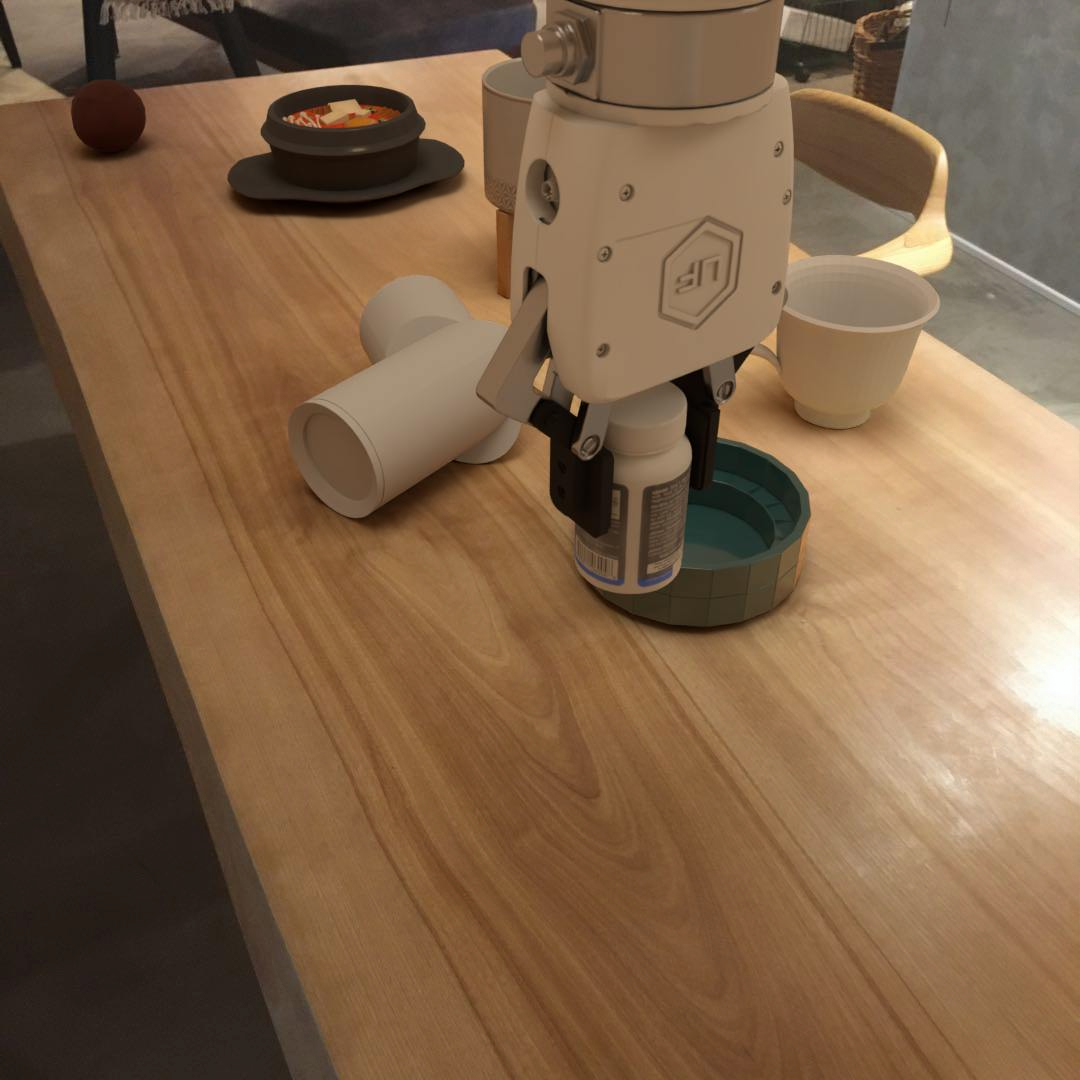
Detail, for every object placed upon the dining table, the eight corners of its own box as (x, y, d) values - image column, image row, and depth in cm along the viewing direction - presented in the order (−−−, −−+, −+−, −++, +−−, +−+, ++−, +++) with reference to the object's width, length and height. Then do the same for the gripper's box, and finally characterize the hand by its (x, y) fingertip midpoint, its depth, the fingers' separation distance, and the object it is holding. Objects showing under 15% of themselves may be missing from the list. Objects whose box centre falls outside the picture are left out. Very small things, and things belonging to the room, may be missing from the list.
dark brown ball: (167, 139, 137) (153, 70, 132) (127, 167, 130) (111, 96, 125) (104, 133, 138) (88, 65, 134) (61, 161, 131) (43, 90, 126)
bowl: (846, 585, 74) (859, 521, 71) (658, 664, 68) (664, 598, 65) (710, 473, 83) (716, 412, 80) (536, 534, 78) (536, 471, 75)
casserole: (241, 233, 116) (227, 148, 111) (221, 167, 130) (208, 89, 125) (485, 203, 122) (483, 122, 117) (441, 144, 136) (438, 68, 131)
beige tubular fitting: (585, 475, 81) (490, 344, 95) (555, 347, 74) (457, 227, 88) (344, 577, 78) (284, 426, 93) (289, 454, 71) (233, 312, 86)
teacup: (701, 375, 94) (713, 258, 88) (883, 367, 95) (907, 250, 89) (734, 459, 85) (750, 334, 79) (936, 449, 86) (966, 325, 80)
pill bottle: (673, 529, 54) (688, 367, 49) (688, 596, 50) (706, 429, 45) (569, 531, 54) (574, 369, 48) (576, 599, 50) (582, 431, 45)
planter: (458, 272, 109) (449, 73, 98) (562, 235, 116) (565, 45, 105) (550, 321, 101) (552, 112, 90) (656, 278, 108) (670, 79, 97)
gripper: (513, 127, 32) (518, 624, 43) (924, 29, 40) (838, 471, 51) (376, 60, 37) (412, 523, 48) (768, -16, 45) (720, 397, 56)
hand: (632, 492), depth 50 cm, fingers closed on pill bottle, 4 cm apart
